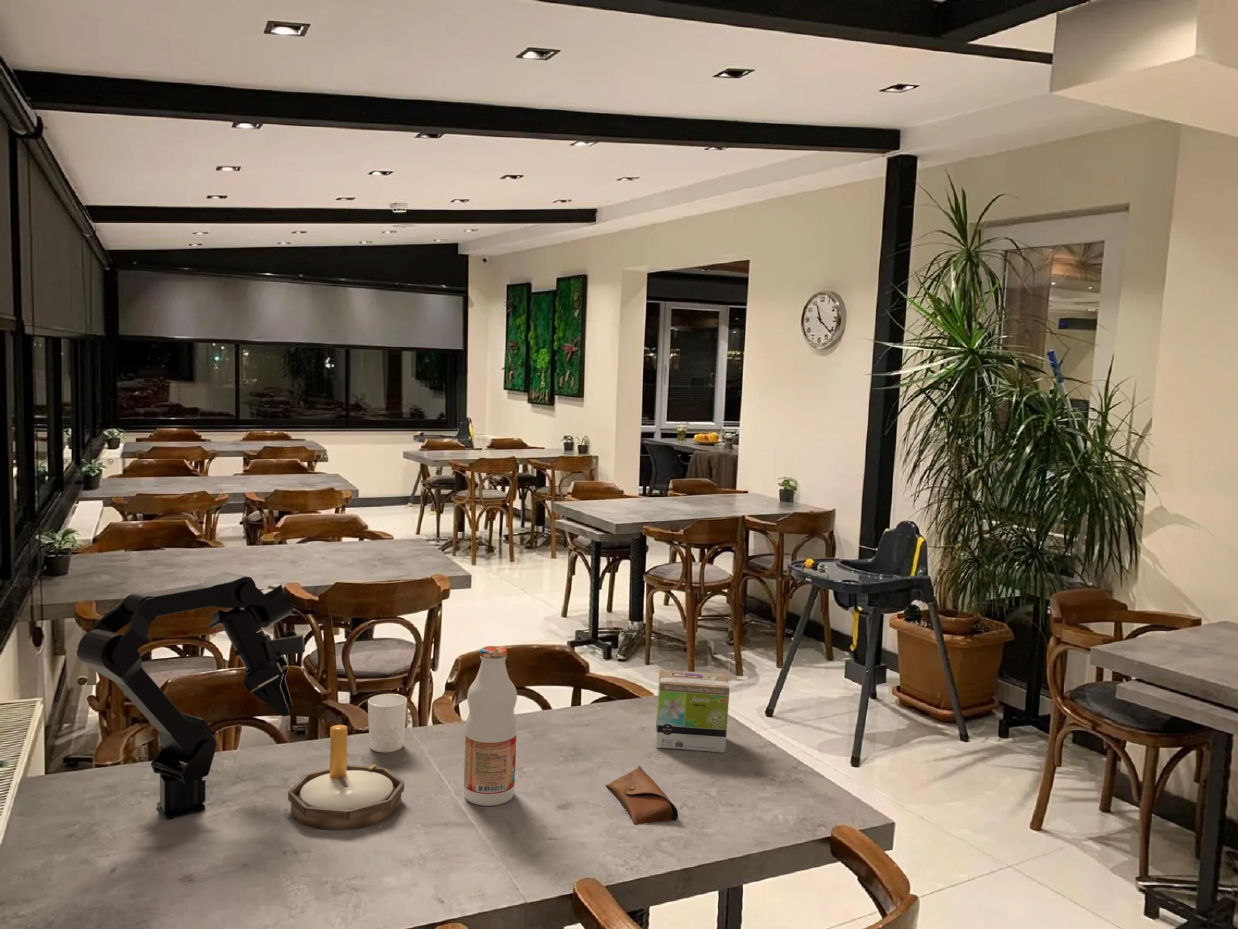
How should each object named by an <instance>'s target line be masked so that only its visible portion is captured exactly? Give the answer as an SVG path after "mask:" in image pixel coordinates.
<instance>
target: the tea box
mask: <svg viewBox="0 0 1238 929" xmlns="http://www.w3.org/2000/svg"><path fill="white" fill-rule="evenodd" d="M728 681H729V680H728V676H727V674H726V673H713V672H701V671H689V670H688V671H686V670H685V671H684V670H671V669H660V670H659V676H658V687H657V688H658V692H657V706H656V719H655V720H656V721H655V740H656V741H655V742H656V743H655V745H656V746H655V747H656V749H675V750H676V749H677V750H689V751H700V752H701V751H702V752H708V753H709V752H711V753H721V754H724V753H725V751H726V747H727V746H726V744H727V731H728V730H727V729H728V714H729V703H730V685H729V682H728Z"/></svg>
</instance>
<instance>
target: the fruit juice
mask: <svg viewBox="0 0 1238 929" xmlns="http://www.w3.org/2000/svg"><path fill="white" fill-rule="evenodd" d="M507 657H508V650H507V648H506V647H504V646H501V645H486V646H483V647H481V648H480V651H479V658H480V660H481V663H480V666H479V669H478V672H477V674H476V677H475V679H474V681H473V682H472V683H471V684H470V685H469V688H468V691H467V695H466V696H467V697H466V698H467V699H466V701H467V705H468V709H469V713H468V715H467V716H466V722H465V736H464V737H465V740H464V741H465V743H464V766H463V767H464V770H463V771H464V773H463V775H464V776H463V794H464V798H465V799H466V801H468V802H469V803H471V804H474V805H477V806H482V807H483V806H484V807H485V806H487V807H491V806H493V807H494V806H499V805H503V804H505V803H508V802H509V801H510V800H512V798H513V797H514V795H515V786H516V759H517V758H516V757H517V754H516V753H517V732H518V730H517V728H518V727H517V726H518V725H517V716H516V715H515V707H516V704H517V700H518V693H517V688H516V686H515V684H514V683H513V682H512V680H511V679H510V676H509V674H508V670H507V666H506V659H507Z"/></svg>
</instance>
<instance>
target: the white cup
mask: <svg viewBox="0 0 1238 929" xmlns="http://www.w3.org/2000/svg"><path fill="white" fill-rule="evenodd" d="M407 706H408V698H407V697H406V696H404V695H401V694H396V693H383V694H377V695H373V696H372V697H369V699H368V700H367V708H368V709H367V711H368V712H367V713H368V714H367V716H368V732H369V733H368V735H369V747H370V749H371V750H372V751H374V752H377V753H393V752H397V751H398V750H401V749H402V748H403V746H404V740H405V739H404V738H405V731H406V722H407V721H406V720H407Z"/></svg>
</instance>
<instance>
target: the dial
mask: <svg viewBox="0 0 1238 929" xmlns="http://www.w3.org/2000/svg"><path fill="white" fill-rule="evenodd" d="M329 732H330V733H329V735H330V737H329V739H330V740H329V741H330V742H329V745H330V746H329V769H330V773H329V774H325V775H322V776H319V777H316V778H314V779H312V780H310V781H309V782H307V783H306V784H305V785H304V786H303V787H302V789H301V791H300V800H301V801H302V802H303V803H304V804H305V805H306V806H307V807H317V808H329V809H340V810H351V809H355V808H359V807H362V806H366V805H370V804H373V803H377V802H381V801H385V800H388V799H389V797H390V796H391V795H392V793H393V784H392V782H391V780H390V779H389V778H387V777H386V776H384V775H381V774H379V773H375V772H370V771H360V770H350V771H347V765H348V760H347V759H348V726H347V725H344V724H336V725H333V726H331V727H330V731H329Z"/></svg>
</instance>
